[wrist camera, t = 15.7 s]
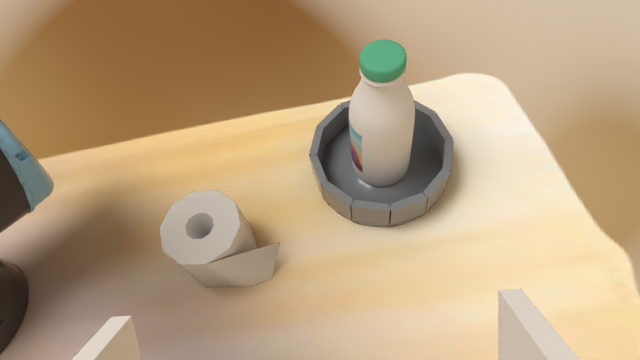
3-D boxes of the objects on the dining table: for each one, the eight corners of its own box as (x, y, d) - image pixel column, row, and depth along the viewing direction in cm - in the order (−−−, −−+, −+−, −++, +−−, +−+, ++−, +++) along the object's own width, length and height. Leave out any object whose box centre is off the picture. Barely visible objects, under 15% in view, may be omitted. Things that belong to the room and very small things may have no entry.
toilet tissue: (284, 285, 52) (270, 262, 45) (181, 287, 54) (150, 265, 46) (288, 219, 57) (276, 187, 49) (193, 222, 58) (167, 192, 51)
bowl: (341, 246, 54) (338, 230, 50) (300, 139, 63) (294, 118, 59) (470, 199, 55) (479, 180, 51) (412, 101, 64) (414, 78, 60)
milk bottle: (415, 149, 59) (432, 34, 42) (398, 195, 56) (409, 91, 38) (363, 135, 61) (359, 21, 44) (344, 179, 58) (331, 73, 41)
